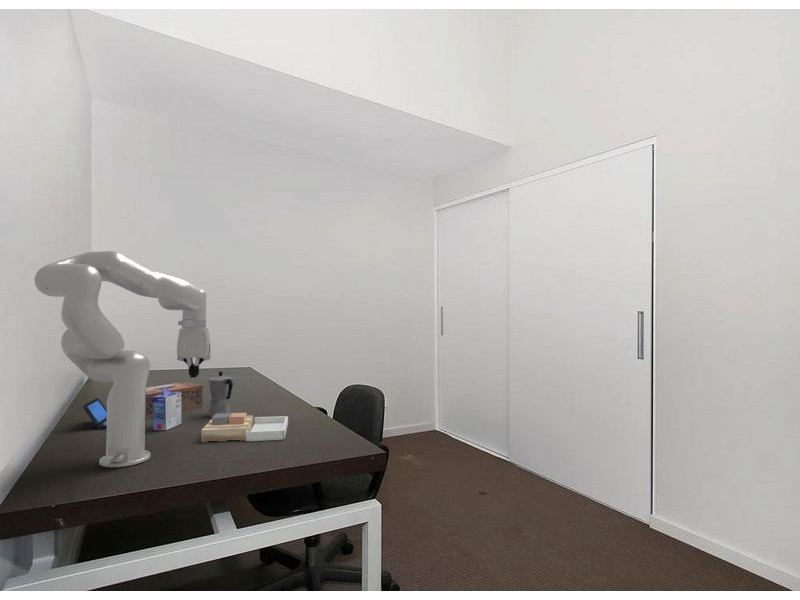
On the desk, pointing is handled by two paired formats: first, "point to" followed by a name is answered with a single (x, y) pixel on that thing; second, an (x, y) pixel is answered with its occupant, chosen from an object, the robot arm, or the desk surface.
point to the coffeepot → (220, 394)
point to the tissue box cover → (189, 391)
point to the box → (268, 428)
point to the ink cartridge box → (166, 410)
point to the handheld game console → (97, 413)
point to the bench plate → (226, 431)
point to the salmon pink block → (237, 418)
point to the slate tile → (221, 419)
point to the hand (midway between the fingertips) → (193, 376)
